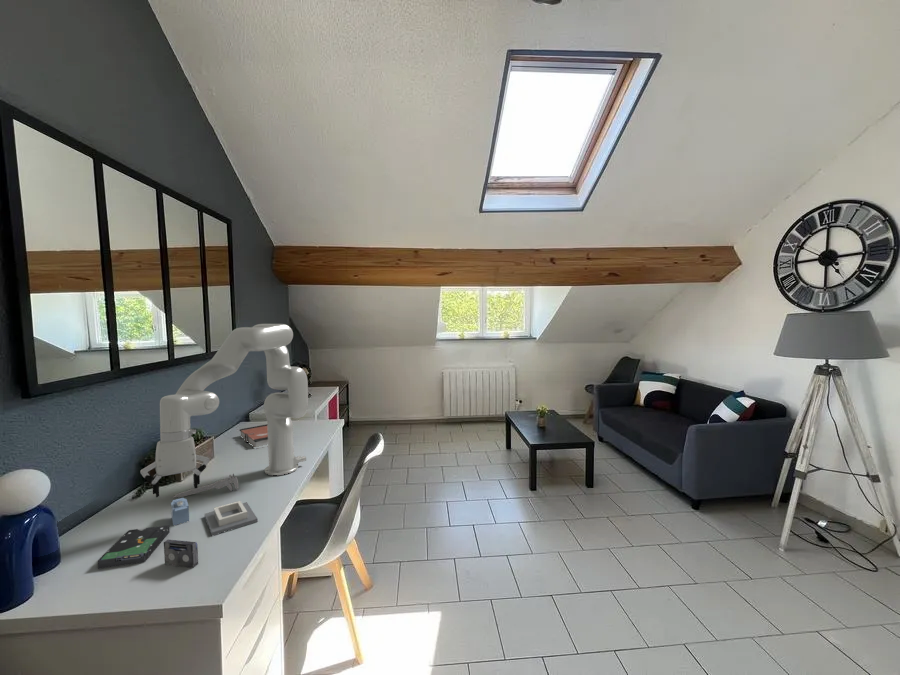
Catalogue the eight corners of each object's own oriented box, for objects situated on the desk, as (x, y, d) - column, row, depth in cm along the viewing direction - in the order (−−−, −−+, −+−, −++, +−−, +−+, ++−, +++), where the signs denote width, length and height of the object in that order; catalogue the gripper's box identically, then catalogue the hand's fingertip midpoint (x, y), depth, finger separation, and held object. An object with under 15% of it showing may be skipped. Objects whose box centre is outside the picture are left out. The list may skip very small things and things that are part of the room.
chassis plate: (246, 505, 130) (246, 496, 130) (257, 521, 119) (257, 512, 119) (204, 516, 123) (204, 507, 123) (211, 536, 112) (211, 525, 112)
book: (238, 438, 205) (238, 428, 205) (273, 431, 217) (272, 422, 217) (253, 450, 186) (253, 439, 186) (290, 442, 198) (290, 432, 197)
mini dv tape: (198, 564, 99) (197, 541, 99) (193, 568, 98) (192, 544, 97) (170, 561, 100) (168, 538, 100) (164, 565, 99) (163, 541, 99)
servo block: (186, 512, 126) (185, 494, 126) (189, 523, 119) (188, 504, 119) (171, 516, 123) (170, 497, 123) (173, 528, 116) (172, 508, 116)
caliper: (238, 489, 143) (237, 472, 142) (237, 491, 142) (237, 474, 141) (173, 497, 137) (172, 479, 137) (172, 499, 136) (171, 481, 136)
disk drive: (128, 539, 112) (97, 571, 97) (127, 530, 112) (96, 560, 97) (170, 533, 114) (146, 563, 100) (169, 524, 114) (145, 553, 100)
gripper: (207, 428, 128) (208, 480, 129) (139, 438, 117) (140, 494, 118) (210, 433, 122) (211, 487, 123) (139, 443, 111) (141, 503, 112)
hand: (176, 491), depth 120 cm, fingers open, 9 cm apart
